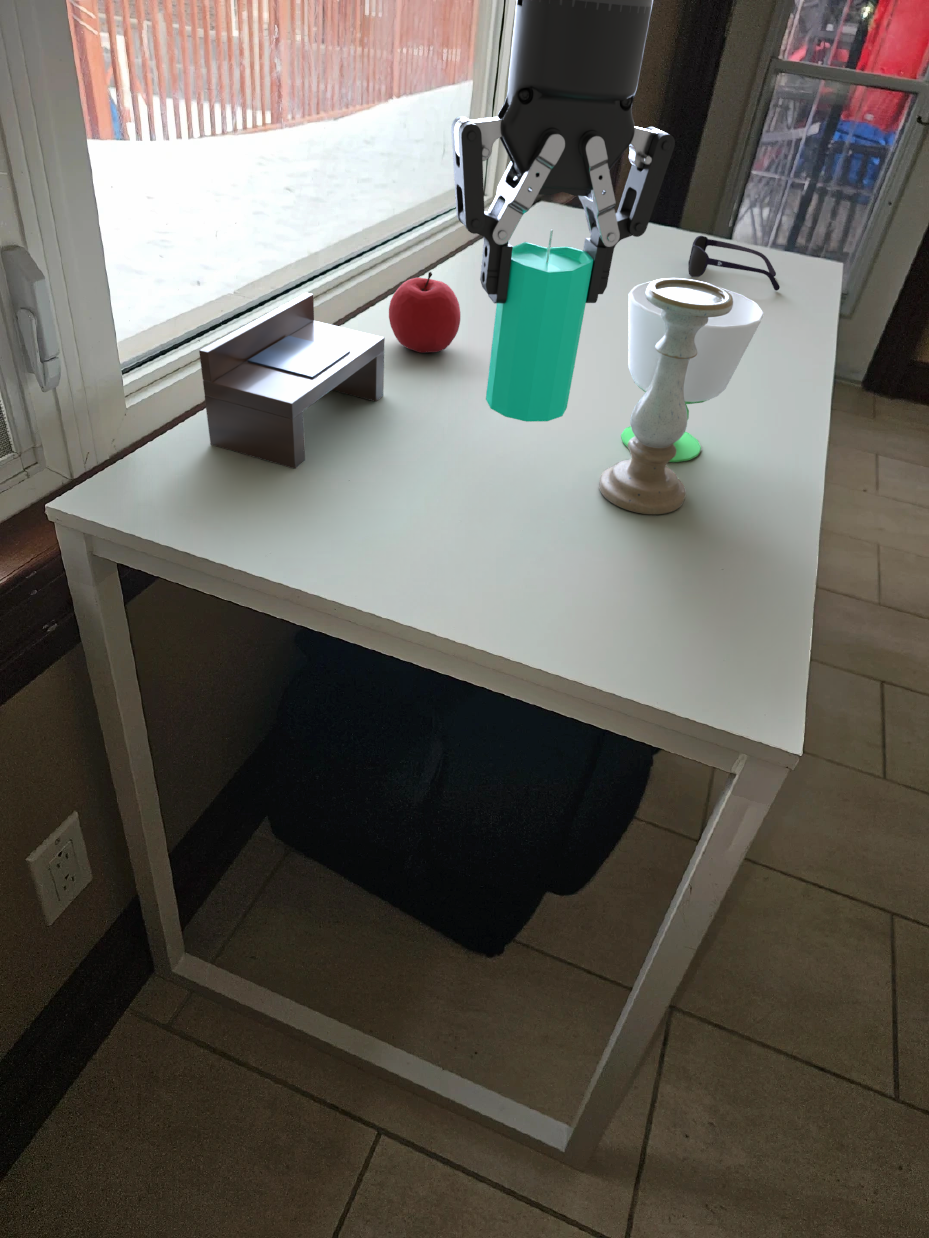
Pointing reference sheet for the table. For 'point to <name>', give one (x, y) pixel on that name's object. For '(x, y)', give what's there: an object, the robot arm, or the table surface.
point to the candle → (538, 332)
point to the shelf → (283, 379)
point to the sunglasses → (701, 260)
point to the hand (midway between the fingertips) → (541, 298)
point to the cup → (705, 372)
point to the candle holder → (664, 400)
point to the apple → (424, 314)
